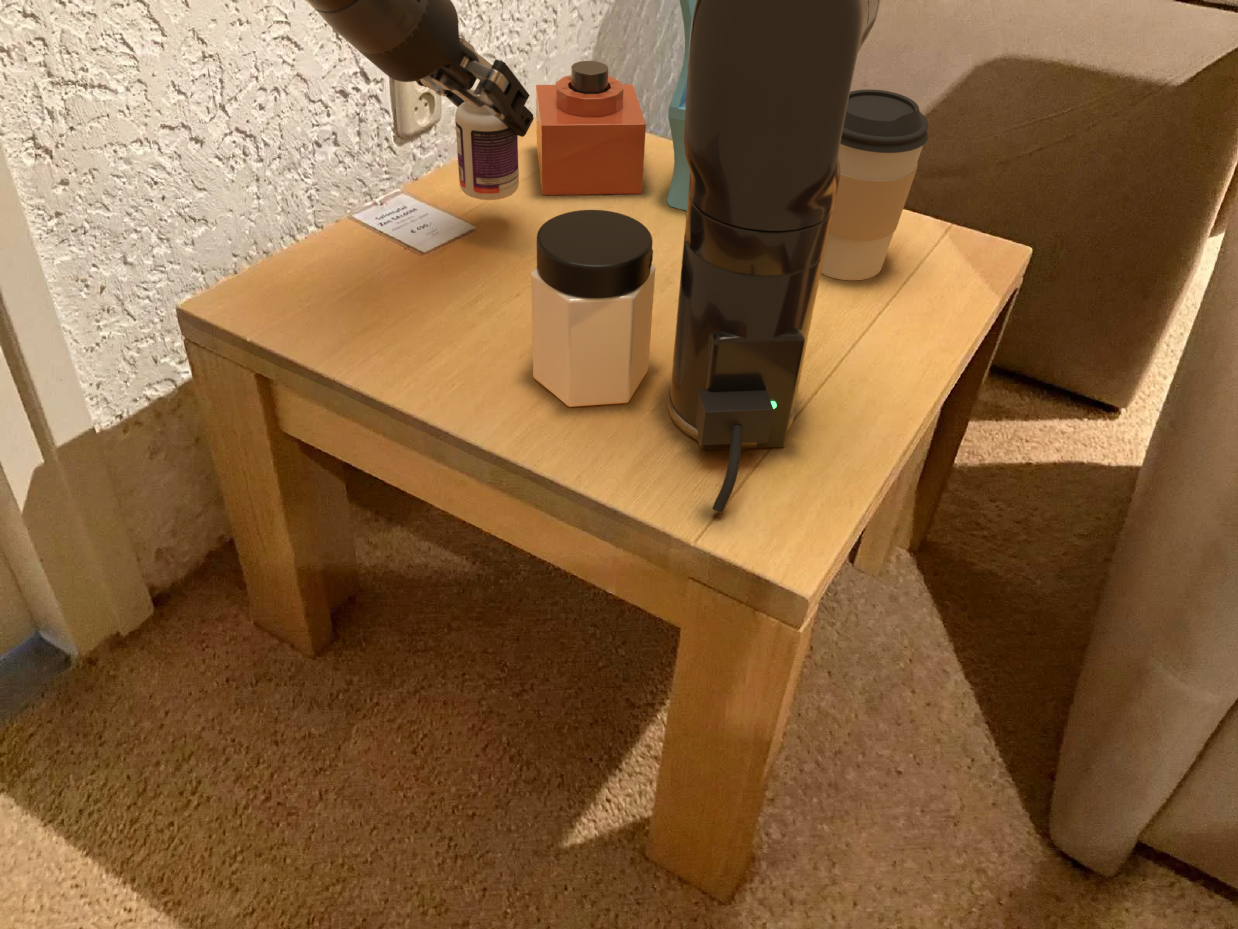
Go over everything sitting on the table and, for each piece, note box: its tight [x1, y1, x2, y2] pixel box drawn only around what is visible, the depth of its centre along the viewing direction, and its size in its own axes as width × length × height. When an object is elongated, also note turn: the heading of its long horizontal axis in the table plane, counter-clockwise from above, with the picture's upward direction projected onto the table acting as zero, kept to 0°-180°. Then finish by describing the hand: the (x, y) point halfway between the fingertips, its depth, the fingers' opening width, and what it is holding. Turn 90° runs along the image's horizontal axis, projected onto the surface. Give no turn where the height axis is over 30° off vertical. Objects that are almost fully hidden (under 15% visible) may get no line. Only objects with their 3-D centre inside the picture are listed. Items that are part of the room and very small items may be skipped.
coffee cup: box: [821, 88, 929, 281], centre depth 87 cm, size 9×9×15 cm
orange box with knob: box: [535, 74, 647, 196], centre depth 100 cm, size 10×10×9 cm
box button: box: [570, 60, 609, 94], centre depth 97 cm, size 4×4×2 cm
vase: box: [666, 0, 696, 212], centre depth 94 cm, size 8×8×20 cm
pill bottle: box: [454, 79, 520, 201], centre depth 88 cm, size 5×5×10 cm
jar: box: [530, 209, 656, 408], centre depth 73 cm, size 9×8×12 cm
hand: (500, 115), depth 89 cm, fingers closed on pill bottle, 5 cm apart
